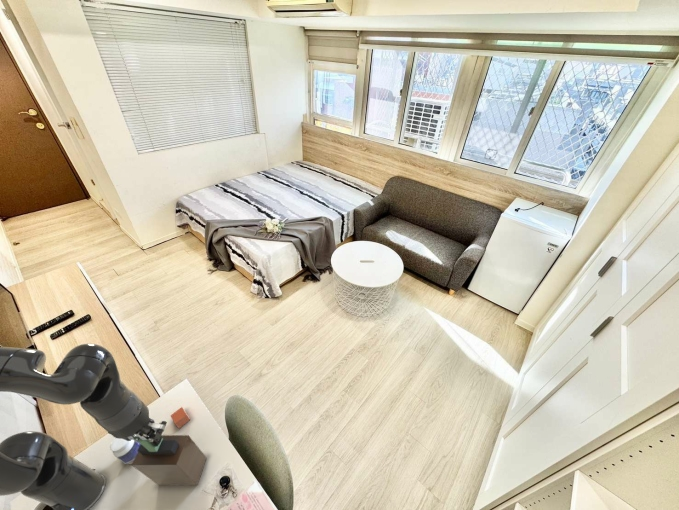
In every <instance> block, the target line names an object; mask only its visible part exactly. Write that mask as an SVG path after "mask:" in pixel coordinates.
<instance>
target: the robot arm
mask: <svg viewBox="0 0 679 510" xmlns="http://www.w3.org/2000/svg"><path fill="white" fill-rule="evenodd" d="M46 361H47V355H46V352H44V351H43V350H41V349H40V350H39V349H35V348H22V347H11V346H10V347H9V346H0V392H1V393H2V392H4V393H5V392H6V393H14V394H18V395H23V396H28V397H32V398H36V399H38V400H39V399H40V400H42V401H46V402H49V403H53V404H57V405H73V404H77V403H79V405H80V407H81V409H82V410H84V411H85V412H86V414H88V415H89V416H91V417H92V418H93V419H94V420H95V422H96V423H97V424H98V425H99V427H101V428H102V429H103V430H105V431H106V432H107V433H108V434H109V435H111V436H112V437H113V438H114V439H115V438H119V439H124V440H127V441H131V440H134V441H135V442H138V440H139V438H141V439H142V440H148V441H149V442H150V443H151V444H152V445H153V446H154V447H157V446H158V445H159V444H160V442H161V440H162V437H161V435H163V433H164V431H165V429H166V427H167V424H168V423H167V421H166V420H162V421H161V422H159V423H156V422H155V420H154V419H152V418H151V417H150V410H149V407H148V406H147V405H146V404H145V403H144V401H143V400H142V399H141V398H140V397H139V396H138V395H137V394H136V393H135V392H134V391H133V390H131V389H130V388H128V386H127V385H126V384H125V383H124V382H123V381H122V379H121V375H120V371H119V368H118V366H117V363H116V360H115V358H114V356H113V354H112V353H111V352H110V351H109V350H108V349H107V348H106V347H104V346H102V345H101V344H100V345H99V344H97V343H83V344H79V345H77V346H74V347H73V348H72V349H70V350H69V351H68V352H67V353H66V354H65V356H64V357H63V358H62V361H61V362H60V363H59V365H58V366H57V368H56V369H55V370H54V372H53V373H52V374H47V373H43V371H44V368H45V366H46ZM106 480H107V479H106V477H105V476H104V475H103V474H101V473H99V472H97V471H96V468H91V467H89V466H88V465H86V464H84V463H83V462H81V461H79V460H77V458H75V457H72V455H70V454H69V453H68V449H67V448H66V447H65V446H64V445H63V444H62V443H61V442H59V441H58V440H57V439H55V438H54V437H53V436H51V435H49V434H48V433H44V432H41V431H33V430H32V431H31V430H29V431H21V432H19V433H16V434H13V435H10V436H8V437H7V438H5V439H3V440H2V441H1V442H0V497H2V496H3V497H4V496H11V495H15V494H18V493H20V494H21V495H22V496H24V497H27V498H29V499H32V500H34V501H37V502H39V503H41V504H44V505H47V506H49V507H51V508H52V510H90V509H91V508H92V507H93V506H94V505H95V504H96V503H97V502H98V500H99V499H100V498H101V497H102V495H103V493H104V491H105V489H106V483H107V481H106Z"/></svg>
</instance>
